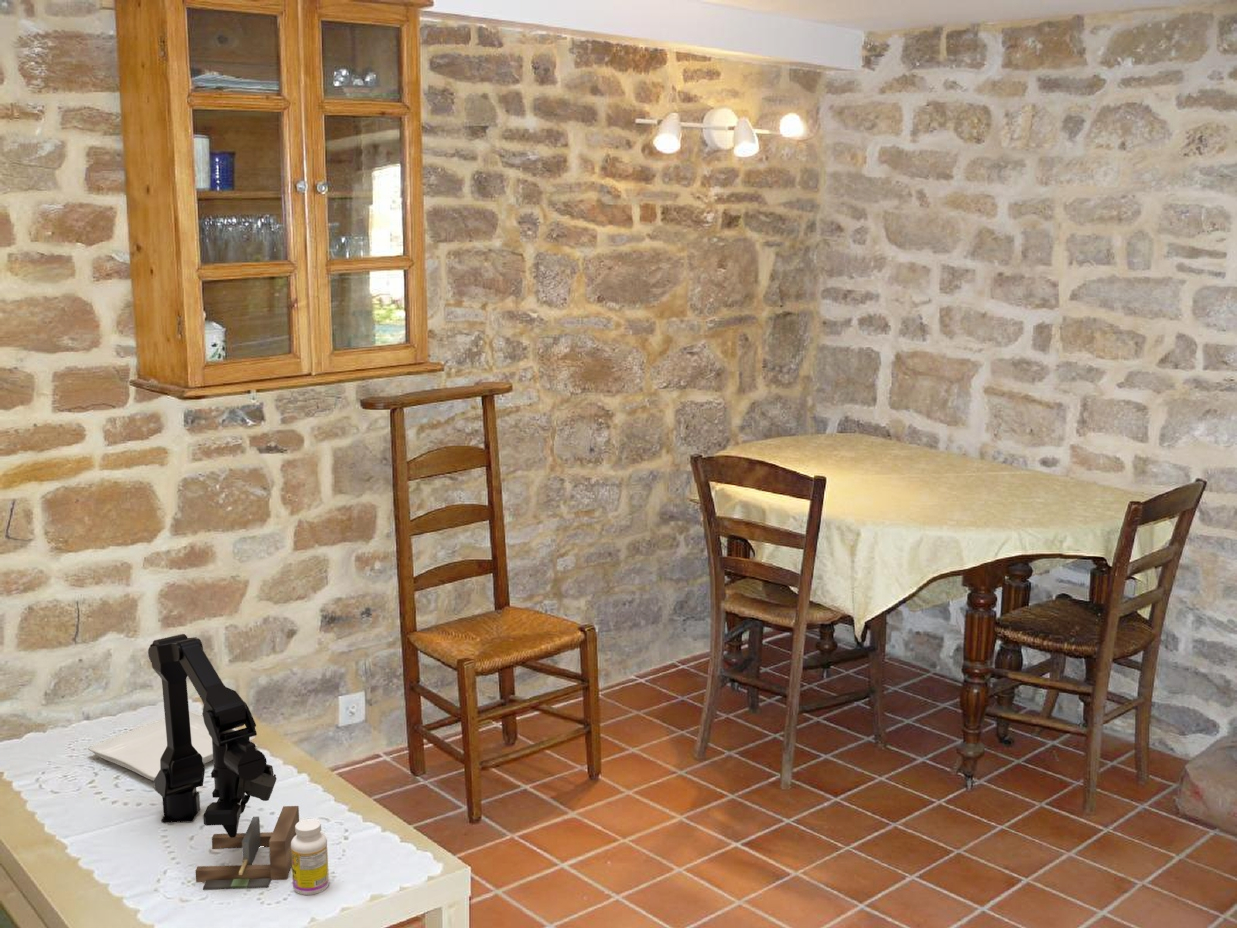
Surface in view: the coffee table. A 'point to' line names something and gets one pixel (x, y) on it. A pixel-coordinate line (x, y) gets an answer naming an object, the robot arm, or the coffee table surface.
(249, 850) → the pad
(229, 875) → the brown wooden frame
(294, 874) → the supplement bottle
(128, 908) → the coffee table surface
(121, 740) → the square plate
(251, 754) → the robot arm
